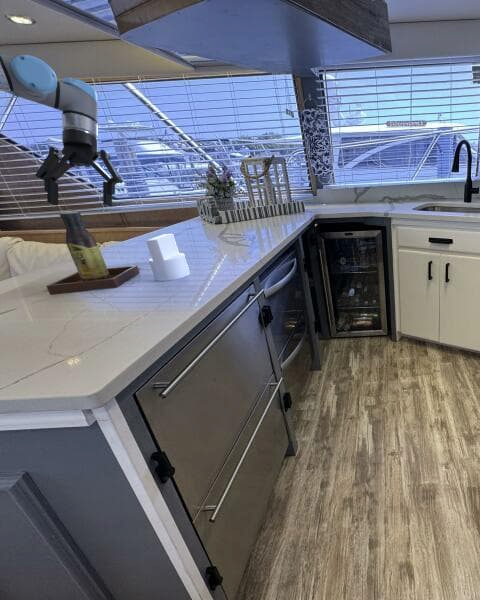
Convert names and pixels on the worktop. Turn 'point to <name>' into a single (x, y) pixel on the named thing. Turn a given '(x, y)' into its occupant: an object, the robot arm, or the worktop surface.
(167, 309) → the worktop surface
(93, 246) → the sauce bottle
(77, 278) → the tray
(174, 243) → the cylinder with rectangular tab
